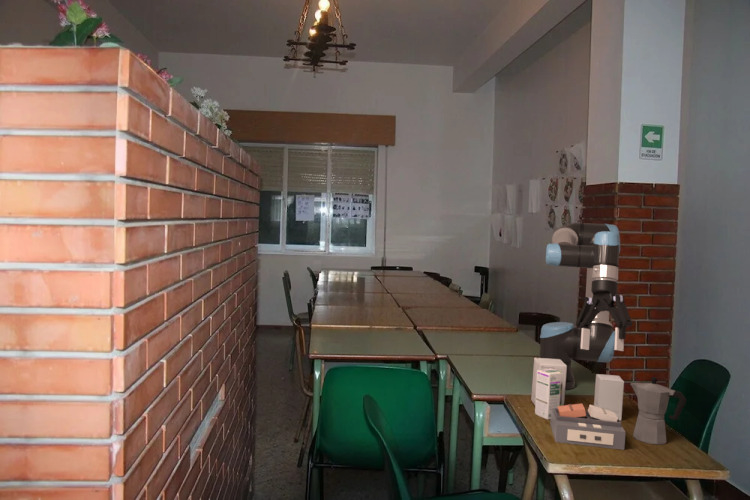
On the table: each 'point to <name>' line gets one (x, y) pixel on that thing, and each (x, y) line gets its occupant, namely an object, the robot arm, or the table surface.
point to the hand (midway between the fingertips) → (601, 350)
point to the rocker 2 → (602, 413)
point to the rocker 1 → (572, 410)
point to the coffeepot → (654, 411)
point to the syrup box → (548, 391)
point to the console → (587, 431)
